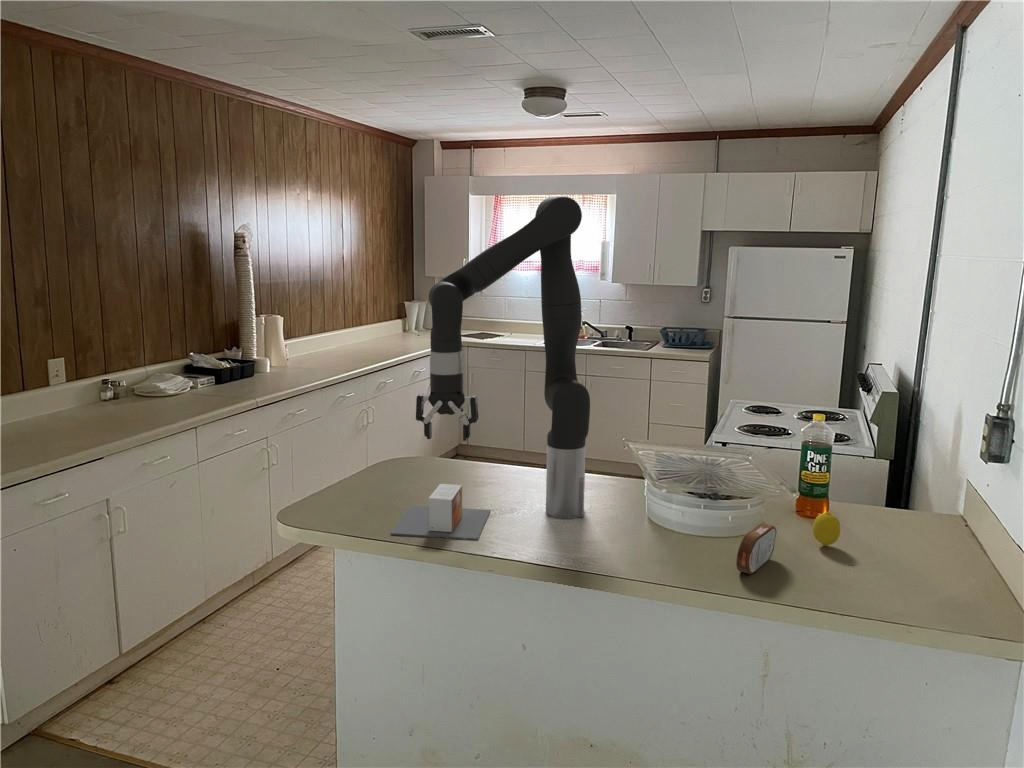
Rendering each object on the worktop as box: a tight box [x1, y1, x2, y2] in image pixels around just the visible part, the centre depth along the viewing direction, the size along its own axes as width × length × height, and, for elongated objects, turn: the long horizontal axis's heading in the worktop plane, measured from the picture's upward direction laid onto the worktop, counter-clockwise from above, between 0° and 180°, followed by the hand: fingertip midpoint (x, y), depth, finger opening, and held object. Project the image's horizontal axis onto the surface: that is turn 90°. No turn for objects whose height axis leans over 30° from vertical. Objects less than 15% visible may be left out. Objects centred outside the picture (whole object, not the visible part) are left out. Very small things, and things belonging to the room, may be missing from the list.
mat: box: [390, 505, 491, 540], centre depth 179 cm, size 20×18×1 cm
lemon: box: [812, 511, 841, 547], centre depth 166 cm, size 6×6×8 cm
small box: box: [427, 483, 463, 532], centre depth 176 cm, size 8×6×10 cm
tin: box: [735, 521, 777, 575], centre depth 156 cm, size 15×3×8 cm, turn 141°
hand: (447, 439), depth 176 cm, fingers open, 8 cm apart
